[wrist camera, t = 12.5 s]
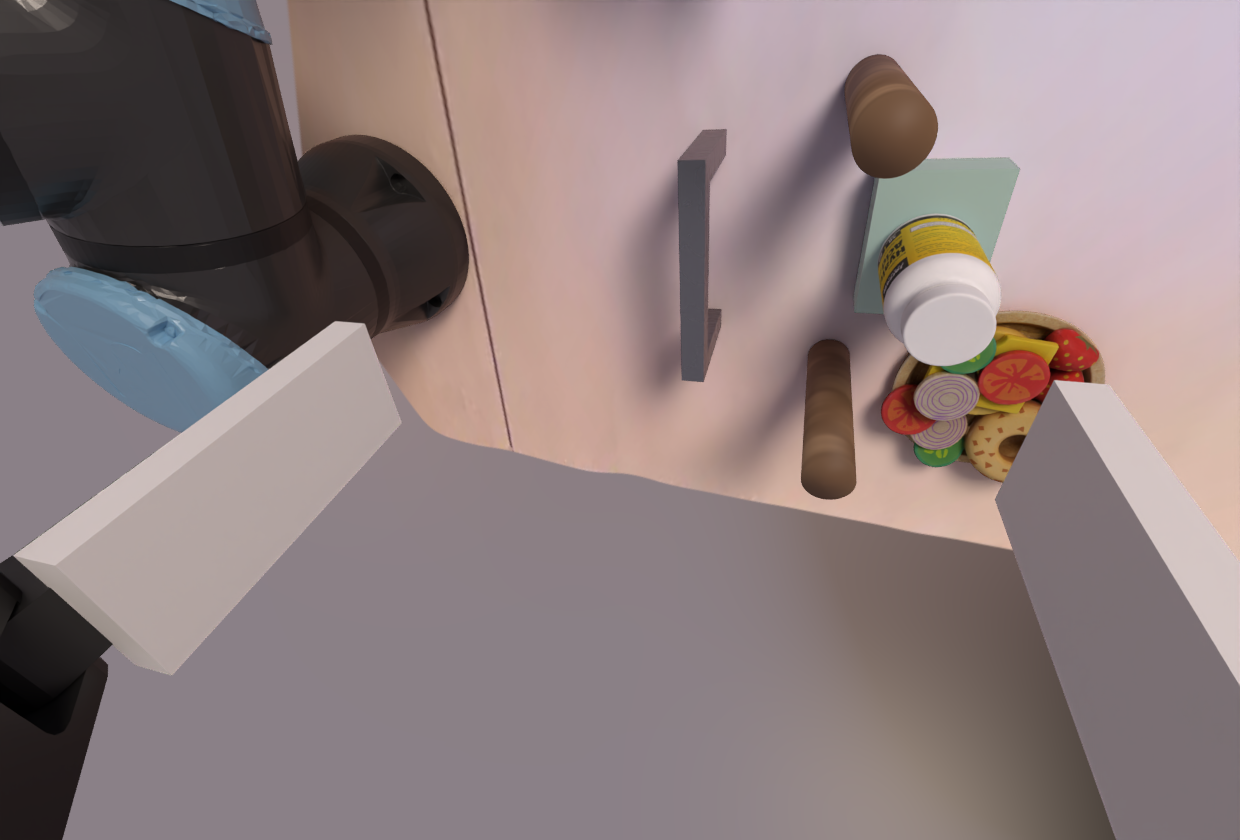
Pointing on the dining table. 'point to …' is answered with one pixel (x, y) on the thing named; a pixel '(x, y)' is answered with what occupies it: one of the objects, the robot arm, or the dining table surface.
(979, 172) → the stand
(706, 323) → the rail hurdle
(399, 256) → the robot arm
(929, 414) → the toy food set
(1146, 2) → the dining table surface
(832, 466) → the post far
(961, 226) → the supplement bottle
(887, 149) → the post near
